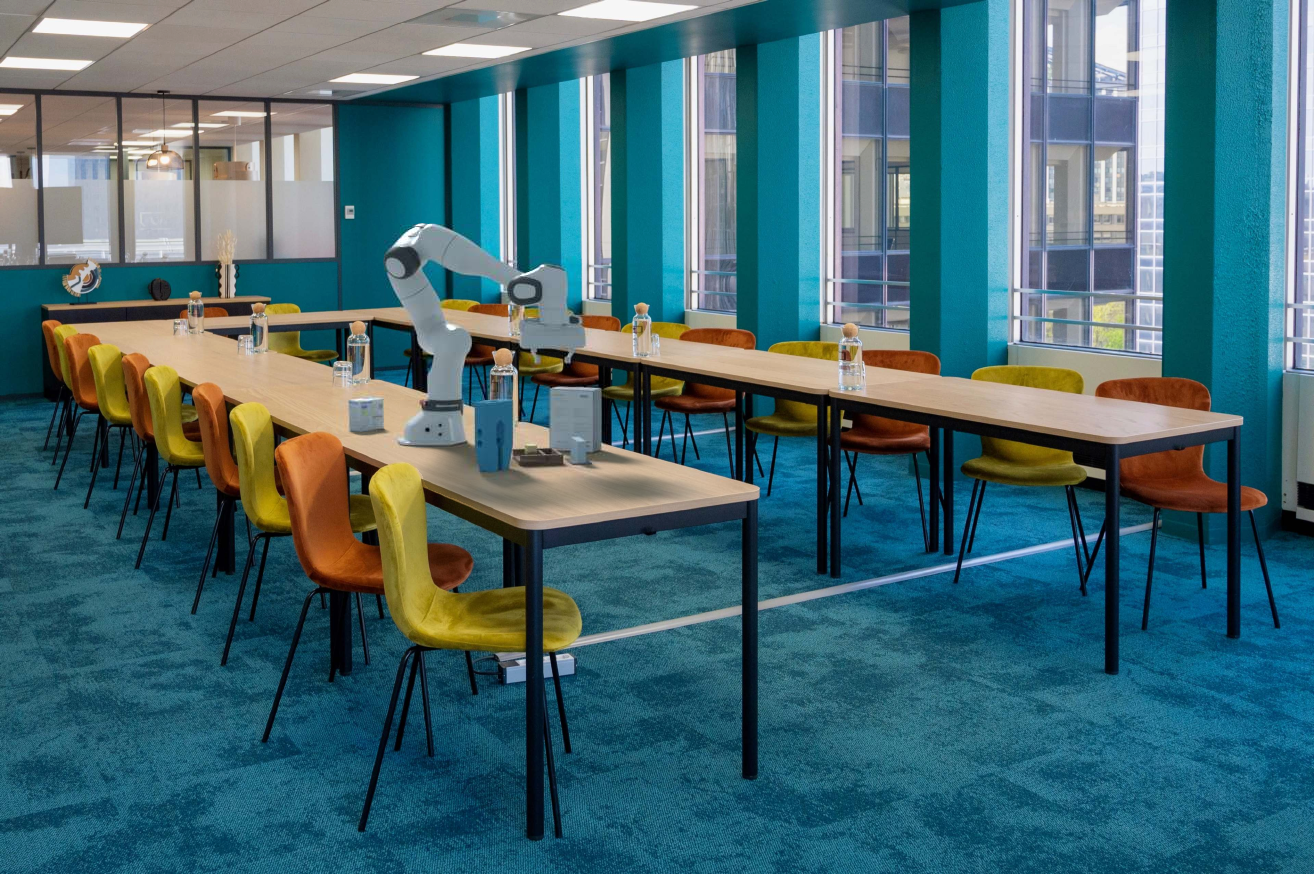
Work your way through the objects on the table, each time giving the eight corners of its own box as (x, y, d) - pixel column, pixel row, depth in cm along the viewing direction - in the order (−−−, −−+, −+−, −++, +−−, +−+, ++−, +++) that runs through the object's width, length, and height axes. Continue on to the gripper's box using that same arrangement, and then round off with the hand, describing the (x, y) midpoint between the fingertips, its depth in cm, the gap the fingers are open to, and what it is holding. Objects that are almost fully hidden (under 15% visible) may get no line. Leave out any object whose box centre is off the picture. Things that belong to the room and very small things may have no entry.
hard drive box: (602, 449, 403) (602, 388, 400) (593, 453, 395) (593, 390, 392) (557, 446, 408) (558, 385, 405) (548, 450, 400) (548, 388, 397)
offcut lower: (527, 457, 378) (527, 451, 378) (524, 455, 382) (524, 449, 382) (537, 457, 379) (537, 451, 379) (534, 455, 383) (534, 449, 383)
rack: (512, 458, 383) (512, 448, 383) (554, 457, 387) (554, 447, 387) (520, 466, 371) (520, 456, 371) (563, 464, 375) (563, 454, 374)
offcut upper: (527, 451, 378) (527, 445, 378) (524, 449, 382) (524, 443, 382) (537, 451, 379) (537, 445, 379) (534, 449, 383) (534, 443, 383)
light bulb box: (371, 426, 444) (371, 396, 442) (384, 428, 440) (384, 398, 438) (348, 430, 435) (347, 399, 434) (361, 432, 431) (360, 401, 430)
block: (501, 465, 371) (501, 398, 368) (514, 467, 369) (514, 400, 366) (473, 470, 362) (473, 402, 359) (486, 472, 359) (485, 403, 356)
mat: (572, 464, 375) (572, 463, 375) (564, 459, 384) (564, 457, 384) (591, 464, 376) (591, 462, 376) (583, 458, 386) (583, 457, 386)
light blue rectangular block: (577, 463, 375) (577, 441, 374) (570, 458, 384) (570, 437, 383) (585, 462, 376) (586, 441, 375) (578, 457, 385) (579, 436, 384)
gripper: (521, 318, 376) (521, 364, 378) (587, 318, 382) (586, 363, 384) (517, 317, 382) (517, 362, 384) (582, 317, 388) (581, 361, 390)
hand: (552, 363), depth 384 cm, fingers open, 8 cm apart
